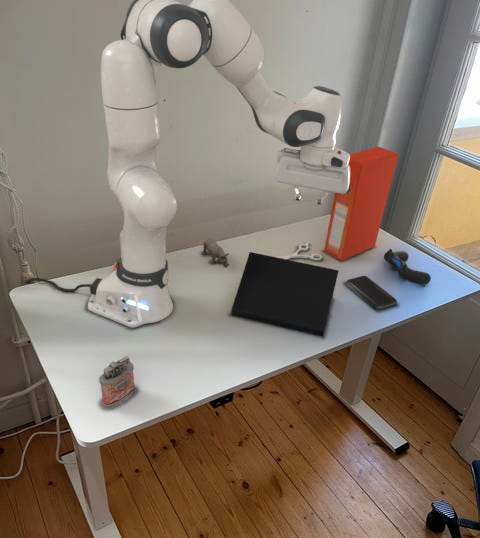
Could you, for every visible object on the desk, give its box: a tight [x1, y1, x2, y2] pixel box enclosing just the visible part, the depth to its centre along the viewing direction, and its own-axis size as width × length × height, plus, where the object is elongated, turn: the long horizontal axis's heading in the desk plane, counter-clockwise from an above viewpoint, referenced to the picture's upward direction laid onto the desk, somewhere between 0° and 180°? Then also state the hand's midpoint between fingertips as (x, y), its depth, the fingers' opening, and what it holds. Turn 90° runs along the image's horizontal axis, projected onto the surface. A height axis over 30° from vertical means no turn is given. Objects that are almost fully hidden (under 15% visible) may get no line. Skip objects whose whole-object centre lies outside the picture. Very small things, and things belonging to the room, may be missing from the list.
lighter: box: [98, 355, 136, 409], centre depth 107 cm, size 8×3×10 cm, turn 138°
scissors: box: [276, 241, 323, 261], centre depth 163 cm, size 11×1×20 cm
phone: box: [345, 275, 398, 311], centre depth 149 cm, size 8×1×15 cm
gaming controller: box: [383, 248, 432, 286], centre depth 158 cm, size 17×6×10 cm
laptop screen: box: [231, 251, 339, 332], centre depth 136 cm, size 18×25×1 cm
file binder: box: [323, 146, 399, 262], centre depth 160 cm, size 8×17×32 cm, turn 131°
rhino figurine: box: [202, 237, 230, 268], centre depth 155 cm, size 4×14×6 cm, turn 33°
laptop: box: [231, 296, 334, 337], centre depth 140 cm, size 18×25×2 cm
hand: (308, 201), depth 142 cm, fingers open, 5 cm apart
